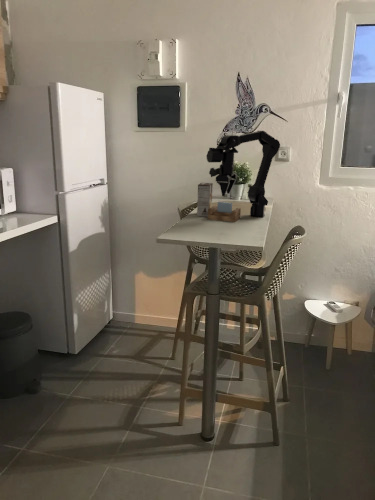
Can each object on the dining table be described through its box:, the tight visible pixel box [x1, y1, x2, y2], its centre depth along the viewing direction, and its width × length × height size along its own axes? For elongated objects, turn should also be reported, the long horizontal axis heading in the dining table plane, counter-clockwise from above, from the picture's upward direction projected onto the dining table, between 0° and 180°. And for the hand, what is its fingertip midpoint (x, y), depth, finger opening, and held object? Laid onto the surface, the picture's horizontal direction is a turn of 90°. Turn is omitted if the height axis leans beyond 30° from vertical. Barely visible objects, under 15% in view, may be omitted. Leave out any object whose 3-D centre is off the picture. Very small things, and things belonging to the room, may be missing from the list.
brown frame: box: [207, 205, 242, 223], centre depth 198 cm, size 14×10×5 cm
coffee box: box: [196, 182, 214, 218], centre depth 205 cm, size 9×6×16 cm
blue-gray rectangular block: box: [216, 201, 233, 213], centre depth 197 cm, size 7×2×6 cm, turn 69°
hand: (225, 194), depth 196 cm, fingers open, 9 cm apart
